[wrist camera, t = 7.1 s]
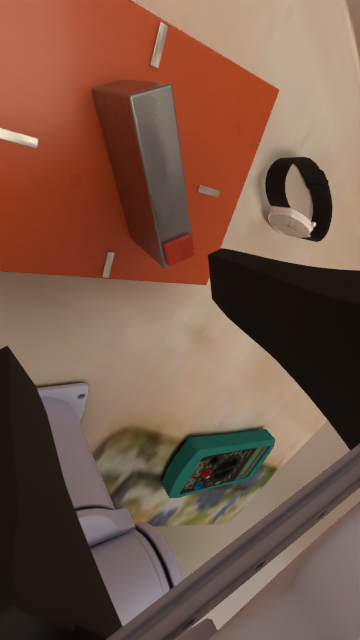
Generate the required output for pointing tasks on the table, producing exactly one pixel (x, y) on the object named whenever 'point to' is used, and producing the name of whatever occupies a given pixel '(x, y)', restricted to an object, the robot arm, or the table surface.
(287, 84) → the table surface
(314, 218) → the watch
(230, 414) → the table surface
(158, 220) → the grey block with button
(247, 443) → the digital multimeter
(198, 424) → the table surface
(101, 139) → the orange block
